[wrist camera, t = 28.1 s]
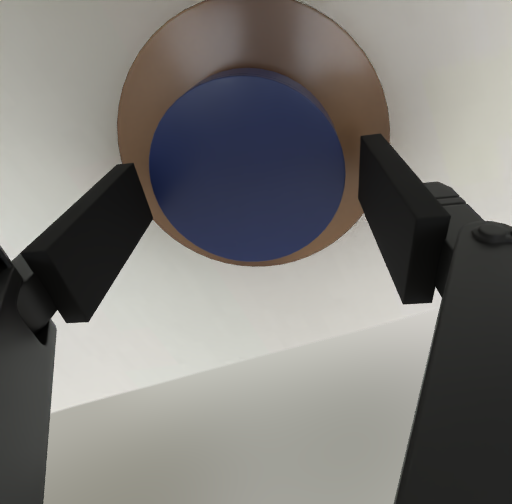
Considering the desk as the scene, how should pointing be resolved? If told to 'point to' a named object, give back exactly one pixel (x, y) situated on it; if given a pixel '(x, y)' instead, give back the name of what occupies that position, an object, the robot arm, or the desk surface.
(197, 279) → the desk surface
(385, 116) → the coaster
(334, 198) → the lid
